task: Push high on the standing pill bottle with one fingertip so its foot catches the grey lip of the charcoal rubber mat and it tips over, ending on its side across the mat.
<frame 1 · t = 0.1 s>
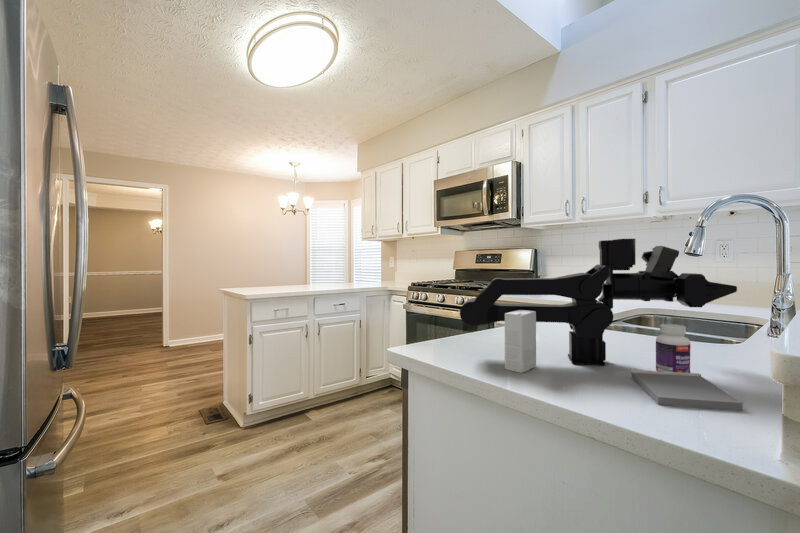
hand: (722, 286, 75), 17 cm above the worktop, tool horizontal, fingers open, 9 cm apart
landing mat: (680, 392, 63), on the worktop
skincare box: (521, 369, 78), on the worktop
pill bottle: (672, 376, 72), on the worktop
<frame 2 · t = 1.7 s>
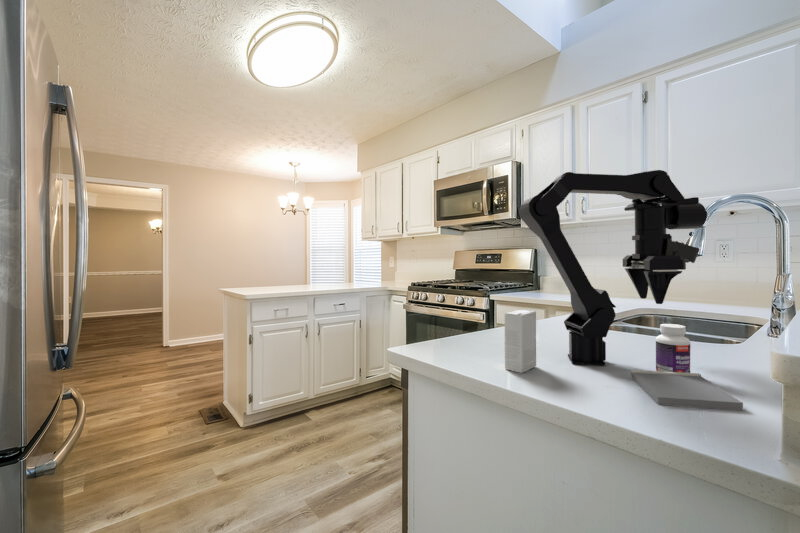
hand: (650, 301, 82), 13 cm above the worktop, tool pointing down, fingers open, 9 cm apart
nothing on the worktop moved.
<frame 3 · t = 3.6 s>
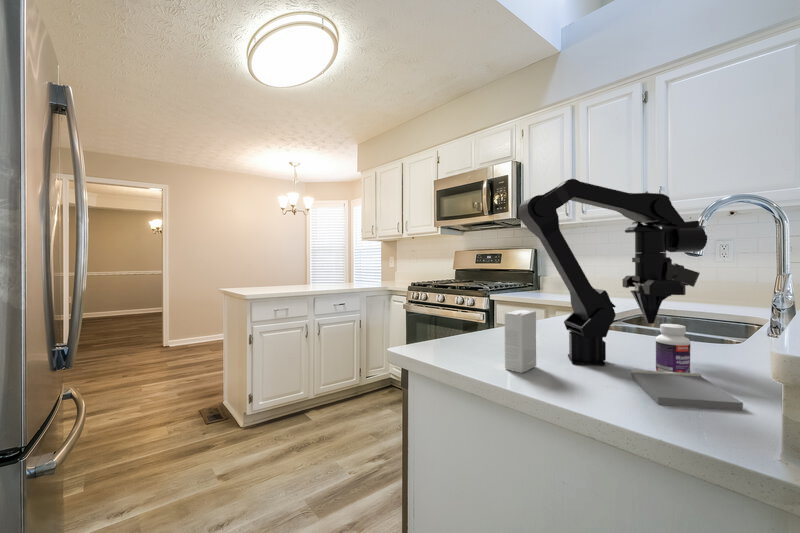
hand: (650, 323, 82), 8 cm above the worktop, tool pointing down, fingers closed
nothing on the worktop moved.
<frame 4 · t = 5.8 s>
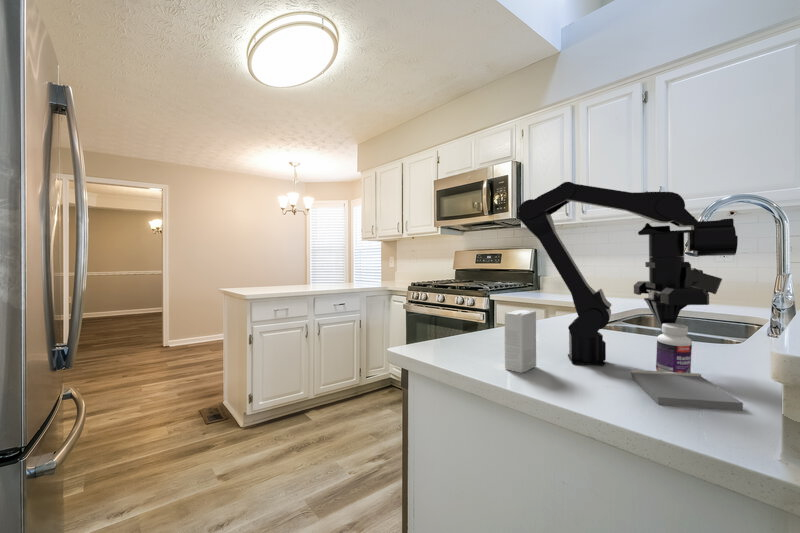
hand: (667, 334, 74), 7 cm above the worktop, tool pointing down, fingers closed
pill bottle: (672, 375, 72), on the worktop, touching gripper
everything else where it was.
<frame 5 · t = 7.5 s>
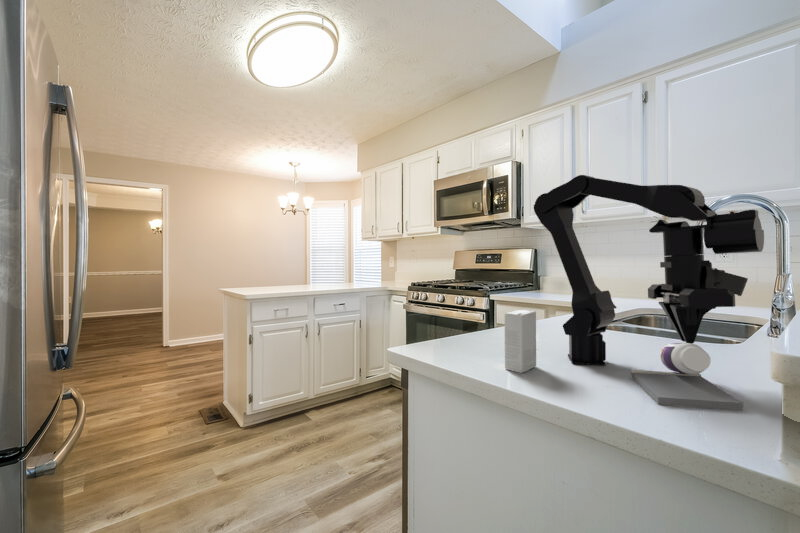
hand: (687, 342, 67), 8 cm above the worktop, tool pointing down, fingers closed
pill bottle: (675, 357, 71), point 3 cm above the worktop, touching gripper, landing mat
everything else where it was.
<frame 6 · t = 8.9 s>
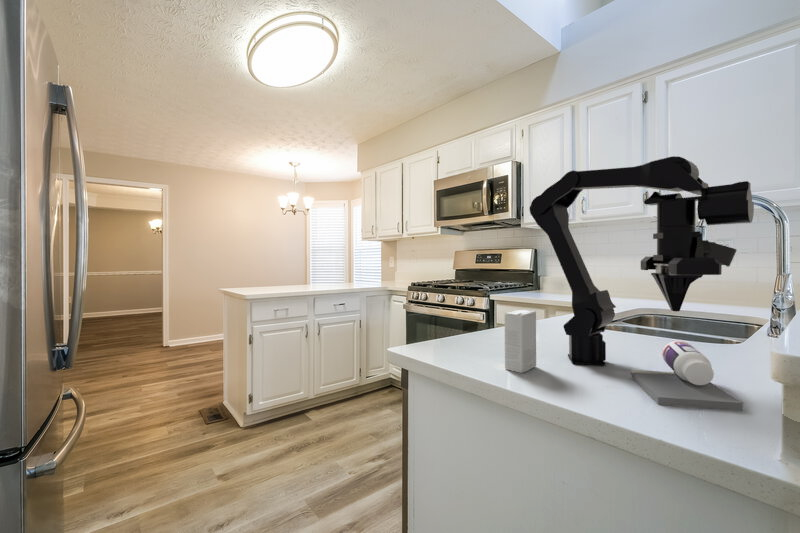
hand: (675, 311, 69), 13 cm above the worktop, tool pointing down, fingers closed
pill bottle: (678, 353, 71), point 4 cm above the worktop, touching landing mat
everything else where it was.
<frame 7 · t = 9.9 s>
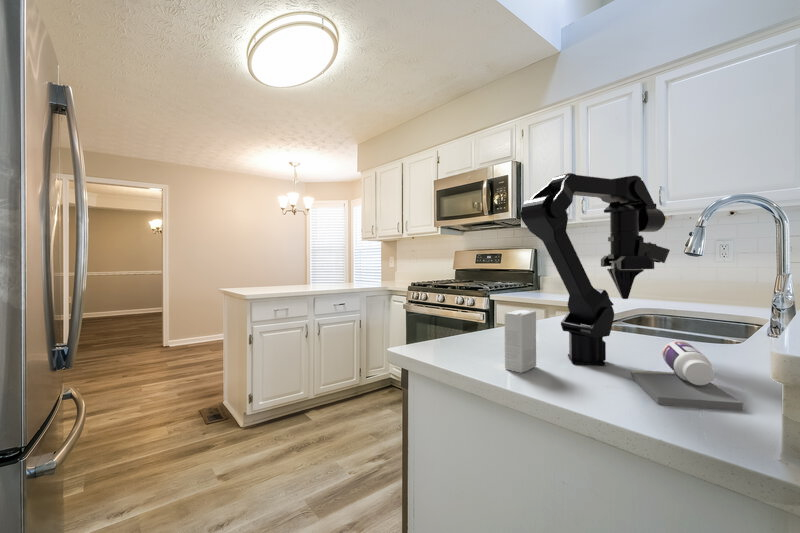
hand: (624, 298, 87), 13 cm above the worktop, tool pointing down, fingers closed
nothing on the worktop moved.
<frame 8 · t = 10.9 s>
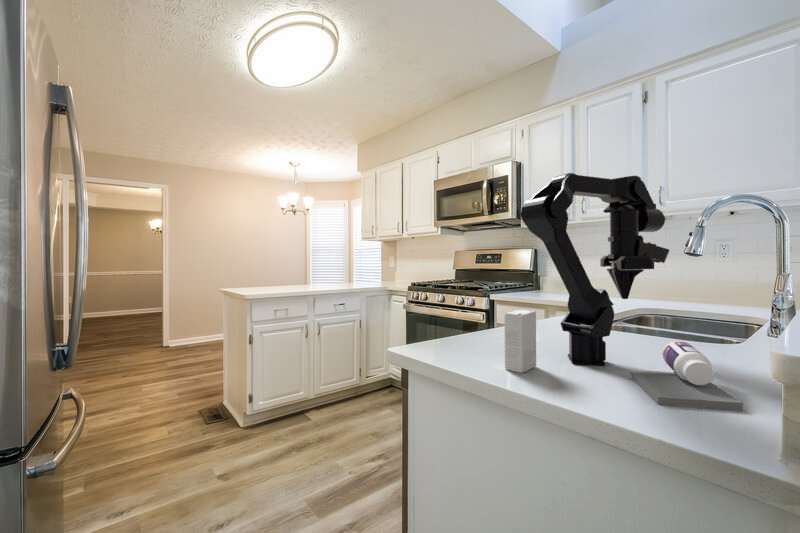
hand: (624, 298, 87), 13 cm above the worktop, tool pointing down, fingers closed
nothing on the worktop moved.
at the end: pill bottle tilted 95°; pill bottle inside the target area on the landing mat (7.5 cm from its centre), point 4.4 cm above the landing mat's base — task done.
